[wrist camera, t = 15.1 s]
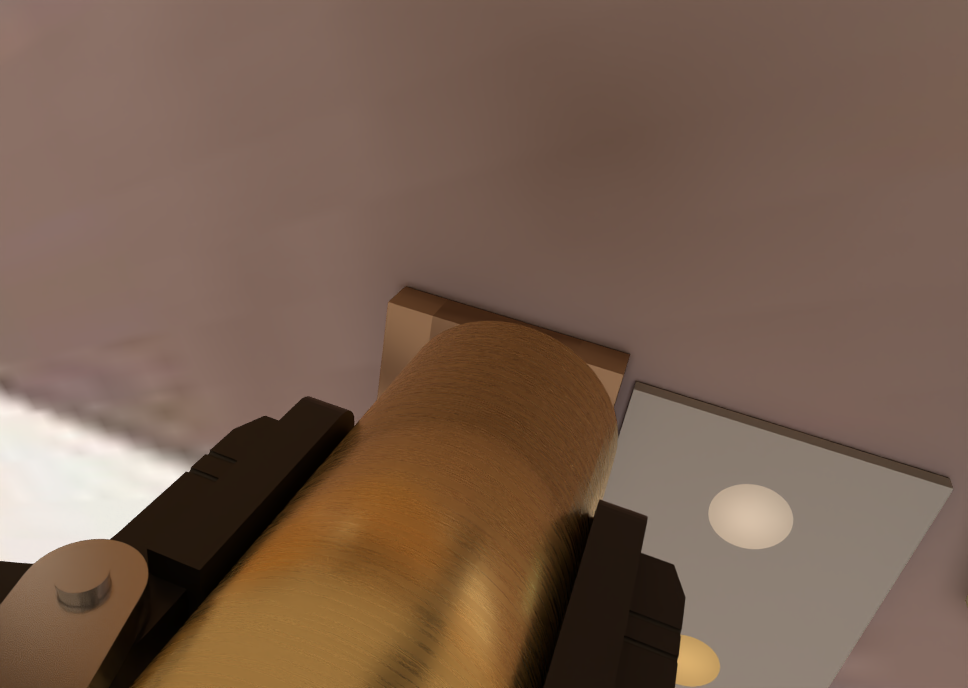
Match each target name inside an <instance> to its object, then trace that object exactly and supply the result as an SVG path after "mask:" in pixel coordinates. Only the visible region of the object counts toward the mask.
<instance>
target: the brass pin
mask: <svg viewBox="0 0 968 688" xmlns="http://www.w3.org/2000/svg"><path fill="white" fill-rule="evenodd" d="M617 444H618V427H617V419H616V415H615V411H614V407H613V405H612V402H611V400H610V397H609V395H608V393H607V391H606V389H605V387H604V386H603V384H602V382H601V381H600V379H599V378H598V377H597V375H596V374H595V372H594V371H593V370H592V369H591V368H590V367H589V366H588V364H587V363H586V362H585V361H584V360H583V359H582V358H581V357H580V356H578V355H577V354H576V353H575V352H574V351H572V350H571V349H570V348H569V347H567V346H566V345H564V344H563V343H561V342H560V341H558V340H557V339H555V338H553V337H551V336H549V335H547V334H545V333H543V332H540V331H538V330H535V329H533V328H530V327H527V326H523V325H519V324H515V323H510V322H502V321H478V322H470V323H465V324H462V325H458V326H455V327H452V328H450V329H448V330H445V331H443V332H442V333H440V334H438V335H437V336H435V337H434V338H432V339H431V340H430V341H429V342H427V343H426V344H425V345H424V346H423V347H422V348H421V349H420V351H419V352H418V353H417V354H416V355H415V356H414V358H413V359H412V360H411V361H410V362H409V363H408V364H407V366H406V367H405V368H404V369H403V370H402V371H401V373H400V374H399V375H398V376H397V377H396V378H395V380H394V381H393V382H392V383H391V384H390V385H389V387H388V388H387V389H386V390H385V391H384V392H383V394H382V395H381V396H380V397H379V398H378V399H377V400H376V402H375V403H374V404H373V405H372V406H371V407H370V409H369V410H368V411H367V412H366V413H365V414H364V416H363V417H362V418H361V419H360V420H359V421H358V423H357V424H356V425H355V426H354V427H353V428H352V429H351V431H350V432H349V433H348V434H347V435H346V436H345V438H344V439H343V440H342V441H341V442H340V443H339V445H338V446H337V447H336V448H335V449H334V450H333V452H332V453H331V454H330V455H329V456H328V457H327V459H326V460H325V461H324V462H323V463H322V464H321V465H320V467H319V468H318V469H317V470H316V471H315V472H314V474H313V475H312V476H311V477H310V478H309V479H308V481H307V482H306V483H305V484H304V485H303V486H302V488H301V489H300V490H299V491H298V492H297V493H296V495H295V496H294V497H293V498H292V499H291V500H290V501H289V503H288V504H287V505H286V506H285V507H284V508H283V510H282V511H281V512H280V513H279V514H278V515H277V517H276V518H275V519H274V520H273V521H272V522H271V524H270V525H269V526H268V527H267V528H266V529H265V530H264V532H263V533H262V534H261V535H260V536H259V537H258V539H257V540H256V541H255V542H254V543H253V544H252V546H251V547H250V548H249V549H248V550H247V551H246V553H245V554H244V555H243V556H242V557H241V558H240V560H239V561H238V562H237V563H236V564H235V565H234V566H233V568H232V569H231V570H230V571H229V572H228V573H227V575H226V576H225V577H224V578H223V579H222V580H221V582H220V583H219V584H218V585H217V586H216V587H215V589H214V590H213V591H212V592H211V593H210V594H209V595H208V597H207V598H206V599H205V600H204V601H203V602H202V604H201V605H200V606H199V607H198V608H197V609H196V611H195V612H194V613H193V614H192V615H191V616H190V618H189V619H188V620H187V621H186V622H185V623H184V625H183V626H182V627H181V628H180V629H179V630H178V631H177V633H176V634H175V635H174V636H173V637H172V638H171V640H170V641H169V642H168V643H167V644H166V645H165V647H164V648H163V649H162V650H161V651H160V652H159V654H158V655H157V656H156V657H155V658H154V659H153V661H152V662H151V663H150V664H149V665H148V666H147V667H146V669H145V670H144V671H143V672H142V673H141V674H140V676H139V677H138V678H137V679H136V680H135V681H134V683H133V684H132V685H131V686H130V687H129V688H542V687H543V683H544V680H545V677H546V673H547V670H548V667H549V663H550V660H551V657H552V653H553V650H554V647H555V643H556V640H557V637H558V633H559V630H560V627H561V623H562V620H563V617H564V613H565V610H566V607H567V603H568V600H569V597H570V593H571V590H572V587H573V583H574V580H575V577H576V573H577V570H578V567H579V563H580V560H581V557H582V553H583V550H584V547H585V543H586V540H587V537H588V533H589V530H590V527H591V523H592V520H593V517H594V514H595V511H596V508H597V505H598V502H599V499H601V500H603V497H604V493H605V490H606V486H607V483H608V479H609V476H610V473H611V469H612V466H613V462H614V459H615V455H616V451H617Z"/></svg>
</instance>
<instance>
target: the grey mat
mask: <svg viewBox="0 0 968 688" xmlns="http://www.w3.org/2000/svg"><path fill="white" fill-rule="evenodd" d="M952 491H953V486H952V483H951V481H950V479H949V478H946V477H943V476H940V475H937V474H933V473H930V472H927V471H924V470H920V469H917V468H914V467H911V466H908V465H904V464H901V463H898V462H895V461H891V460H888V459H885V458H882V457H879V456H875V455H872V454H869V453H866V452H862V451H859V450H856V449H853V448H849V447H846V446H843V445H840V444H837V443H833V442H830V441H827V440H824V439H820V438H817V437H814V436H811V435H808V434H804V433H801V432H798V431H795V430H791V429H788V428H785V427H782V426H779V425H775V424H772V423H769V422H766V421H762V420H759V419H756V418H753V417H749V416H746V415H743V414H740V413H737V412H733V411H730V410H727V409H724V408H720V407H717V406H714V405H711V404H708V403H704V402H701V401H698V400H695V399H691V398H688V397H685V396H682V395H679V394H675V393H672V392H669V391H666V390H662V389H659V388H656V387H653V386H649V385H646V384H643V383H640V382H637V381H636V383H635V387H634V390H633V393H632V396H631V399H630V402H629V405H628V408H627V412H626V415H625V418H624V421H623V424H622V427H621V430H620V433H619V437H618V444H617V451H616V455H615V459H614V462H613V466H612V469H611V473H610V476H609V479H608V483H607V486H606V490H605V493H604V497H603V501H606V502H609V503H612V504H615V505H618V506H620V507H623V508H626V509H629V510H632V511H635V512H637V513H640V514H643V515H646V516H648V520H647V526H646V531H645V536H644V541H643V546H642V551H641V553H644V554H646V555H649V556H652V557H655V558H657V559H660V560H663V561H666V562H668V563H671V564H674V566H675V569H676V571H677V574H678V577H679V580H680V583H681V586H682V588H683V591H684V594H685V597H686V599H685V607H684V616H683V624H682V631H681V634H680V636H681V641H680V650H679V657H678V660H677V663H678V667H677V675H676V684H675V688H829V686H830V684H831V683H832V681H833V680H834V678H835V676H836V675H837V673H838V672H839V670H840V668H841V667H842V665H843V664H844V662H845V661H846V659H847V657H848V656H849V654H850V653H851V651H852V649H853V648H854V646H855V645H856V643H857V641H858V640H859V638H860V637H861V635H862V634H863V632H864V630H865V629H866V627H867V626H868V624H869V622H870V621H871V619H872V618H873V616H874V615H875V613H876V611H877V610H878V608H879V607H880V605H881V603H882V602H883V600H884V599H885V597H886V595H887V594H888V592H889V591H890V589H891V588H892V586H893V584H894V583H895V581H896V580H897V578H898V576H899V575H900V573H901V572H902V570H903V568H904V567H905V565H906V564H907V562H908V561H909V559H910V557H911V556H912V554H913V553H914V551H915V549H916V548H917V546H918V545H919V543H920V542H921V540H922V538H923V537H924V535H925V534H926V532H927V530H928V529H929V527H930V526H931V524H932V522H933V521H934V519H935V518H936V516H937V515H938V513H939V511H940V510H941V508H942V507H943V505H944V503H945V502H946V500H947V499H948V497H949V495H950V494H951V492H952Z"/></svg>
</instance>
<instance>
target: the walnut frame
mask: <svg viewBox="0 0 968 688" xmlns="http://www.w3.org/2000/svg"><path fill="white" fill-rule="evenodd" d="M478 321H502V322H510V323H515V324H519V325H523V326H527V327H530V328H533V329H535V330H538V331H540V332H543V333H545V334H547V335H549V336H551V337H553V338H555V339H557V340H558V341H560V342H561V343H563V344H564V345H566V346H567V347H569V348H570V349H571V350H572V351H574V352H575V353H576V354H577V355H578V356H580V357H581V358H582V359H583V360H584V361H585V362H586V363H587V364H588V366H589V367H590V368H591V369H592V370H593V371H594V372H595V374H596V375H597V377H598V378H599V379H600V381H601V382H602V384H603V386H604V387H605V389H606V391H607V393H608V395H609V397H610V400H611V402H612V405H613V407H614V405H615V402H616V399H617V395H618V392H619V389H620V386H621V382H622V379H623V376H624V373H625V369H626V366H627V363H628V360H629V356H630V354H626V353H623V352H620V351H616V350H613V349H610V348H607V347H603V346H600V345H597V344H593V343H590V342H587V341H584V340H580V339H577V338H574V337H570V336H567V335H564V334H560V333H557V332H554V331H551V330H547V329H544V328H541V327H537V326H534V325H531V324H527V323H524V322H521V321H518V320H514V319H511V318H508V317H504V316H501V315H498V314H494V313H491V312H488V311H485V310H481V309H478V308H475V307H471V306H468V305H465V304H461V303H458V302H455V301H452V300H448V299H445V298H442V297H438V296H435V295H432V294H429V293H425V292H422V291H419V290H415V289H412V288H409V287H404V288H403V289H402V290H401V291H400V292H399V293H398V294H397V295H396V296H394V297H393V298H392V299H391V300H390V301H389V302H388V308H387V317H386V326H385V335H384V344H383V353H382V361H381V370H380V379H379V388H378V397H377V399H378V398H379V397H380V396H381V395H382V394H383V392H384V391H385V390H386V389H387V388H388V387H389V385H390V384H391V383H392V382H393V381H394V380H395V378H396V377H397V376H398V375H399V374H400V373H401V371H402V370H403V369H404V368H405V367H406V366H407V364H408V363H409V362H410V361H411V360H412V359H413V358H414V356H415V355H416V354H417V353H418V352H419V351H420V349H421V348H422V347H423V346H424V345H425V344H426V343H427V342H429V341H430V340H431V339H432V338H434V337H435V336H437V335H438V334H440V333H442V332H443V331H445V330H448V329H450V328H452V327H455V326H458V325H462V324H465V323H470V322H478Z"/></svg>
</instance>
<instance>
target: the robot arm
mask: <svg viewBox="0 0 968 688" xmlns="http://www.w3.org/2000/svg"><path fill="white" fill-rule="evenodd" d="M353 427H354V415H353V413H352V412H351V411H349V410H347V409H344V408H341V407H338V406H335V405H332V404H329V403H327V402H324V401H321V400H318V399H315V398H312V397H309V396H307V397H304V398H302V399H301V400H300V401H299V402H298V403H297V404H296V405H295V406H294V407H293V408H292V409H291V410H289V411H288V412H287V413H286V414H285V415H284V416H283V417H282V418H281V419H280V420H279V421H278V420H276V419H273V418H270V417H267V416H263V417H261V418H258V419H256V420H254V421H252V422H249V423H247V424H245V425H242V426H240V427H238V428H235V429H233V430H232V431H231V432H230V433H229V434H228V435H226V436H225V437H224V438H223V439H222V440H221V441H220V442H219V443H218V444H216V445H215V446H214V447H213V448H212V449H211V450H210V453H209V454H208V455H206V454H205V455H204V456H203V457H202V458H201V459H200V460H199V461H198V462H196V463H195V464H194V465H193V466H192V467H191V470H190V472H185V473H184V474H183V475H182V476H181V477H180V478H179V479H177V480H176V481H175V482H174V483H173V484H172V485H171V486H170V487H169V488H167V489H166V490H165V491H164V492H163V493H162V494H161V495H160V496H159V497H157V498H156V499H155V500H154V501H153V502H152V503H151V504H150V505H148V506H147V507H146V508H145V509H144V510H143V511H142V512H141V513H140V514H138V515H137V516H136V517H135V518H134V519H133V520H132V521H131V522H130V523H128V524H127V525H126V526H125V527H124V528H123V529H122V530H121V531H120V532H118V533H117V534H116V535H115V536H114V537H112V538H111V539H110V540H108V539H91V540H84V541H79V542H75V543H71V544H68V545H65V546H63V547H60V548H58V549H56V550H54V551H52V552H50V553H48V554H47V555H45V556H44V557H42V558H40V559H39V560H38V561H37V562H36V563H34V564H27V563H15V562H5V561H0V688H129V687H130V686H131V685H132V684H133V683H134V681H135V680H136V679H137V678H138V677H139V676H140V674H141V673H142V672H143V671H144V670H145V669H146V667H147V666H148V665H149V664H150V663H151V662H152V661H153V659H154V658H155V657H156V656H157V655H158V654H159V652H160V651H161V650H162V649H163V648H164V647H165V645H166V644H167V643H168V642H169V641H170V640H171V638H172V637H173V636H174V635H175V634H176V633H177V631H178V630H179V629H180V628H181V627H182V626H183V625H184V623H185V622H186V621H187V620H188V619H189V618H190V616H191V615H192V614H193V613H194V612H195V611H196V609H197V608H198V607H199V606H200V605H201V604H202V602H203V601H204V600H205V599H206V598H207V597H208V595H209V594H210V593H211V592H212V591H213V590H214V589H215V587H216V586H217V585H218V584H219V583H220V582H221V580H222V579H223V578H224V577H225V576H226V575H227V573H228V572H229V571H230V570H231V569H232V568H233V566H234V565H235V564H236V563H237V562H238V561H239V560H240V558H241V557H242V556H243V555H244V554H245V553H246V551H247V550H248V549H249V548H250V547H251V546H252V544H253V543H254V542H255V541H256V540H257V539H258V537H259V536H260V535H261V534H262V533H263V532H264V530H265V529H266V528H267V527H268V526H269V525H270V524H271V522H272V521H273V520H274V519H275V518H276V517H277V515H278V514H279V513H280V512H281V511H282V510H283V508H284V507H285V506H286V505H287V504H288V503H289V501H290V500H291V499H292V498H293V497H294V496H295V495H296V493H297V492H298V491H299V490H300V489H301V488H302V486H303V485H304V484H305V483H306V482H307V481H308V479H309V478H310V477H311V476H312V475H313V474H314V472H315V471H316V470H317V469H318V468H319V467H320V465H321V464H322V463H323V462H324V461H325V460H326V459H327V457H328V456H329V455H330V454H331V453H332V452H333V450H334V449H335V448H336V447H337V446H338V445H339V443H340V442H341V441H342V440H343V439H344V438H345V436H346V435H347V434H348V433H349V432H350V431H351V429H352V428H353ZM647 520H648V516H646V515H643V514H640V513H637V512H635V511H632V510H629V509H626V508H623V507H620V506H618V505H615V504H612V503H609V502H606V501H603V500H601V499H599V502H598V505H597V508H596V511H595V514H594V517H593V520H592V523H591V527H590V530H589V533H588V537H587V540H586V543H585V547H584V550H583V553H582V557H581V560H580V563H579V567H578V570H577V573H576V577H575V580H574V583H573V587H572V590H571V593H570V597H569V600H568V603H567V607H566V610H565V613H564V617H563V620H562V623H561V627H560V630H559V633H558V637H557V640H556V643H555V647H554V650H553V653H552V657H551V660H550V663H549V667H548V670H547V673H546V677H545V680H544V683H543V687H542V688H675V684H676V675H677V667H678V663H677V660H678V657H679V650H680V641H681V636H680V634H681V631H682V624H683V616H684V607H685V599H686V597H685V594H684V591H683V588H682V586H681V583H680V580H679V577H678V574H677V571H676V569H675V566H674V564H671V563H668V562H666V561H663V560H660V559H657V558H655V557H652V556H649V555H646V554H644V553H641V551H642V546H643V541H644V536H645V531H646V526H647Z"/></svg>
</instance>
